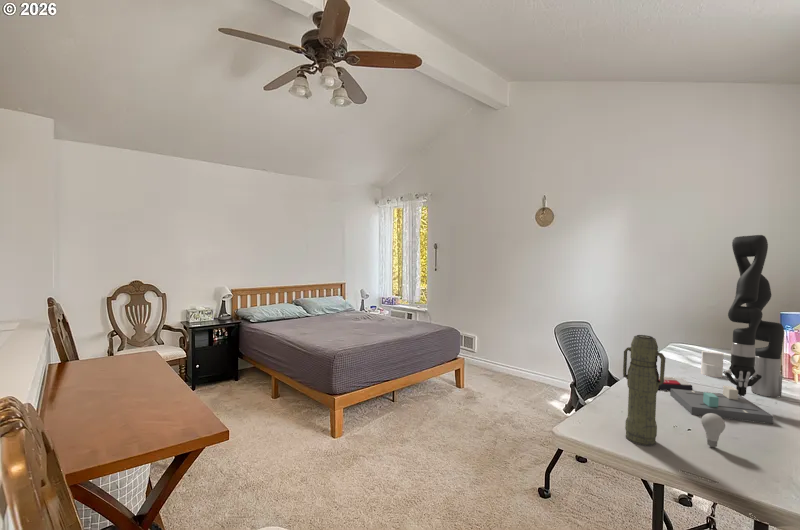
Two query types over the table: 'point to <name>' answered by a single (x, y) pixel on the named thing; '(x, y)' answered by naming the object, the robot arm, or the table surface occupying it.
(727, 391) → the block
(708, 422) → the lightbulb
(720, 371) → the white cylinder
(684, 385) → the calculator
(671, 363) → the table surface
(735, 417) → the console
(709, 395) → the fader teal
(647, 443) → the thermos
